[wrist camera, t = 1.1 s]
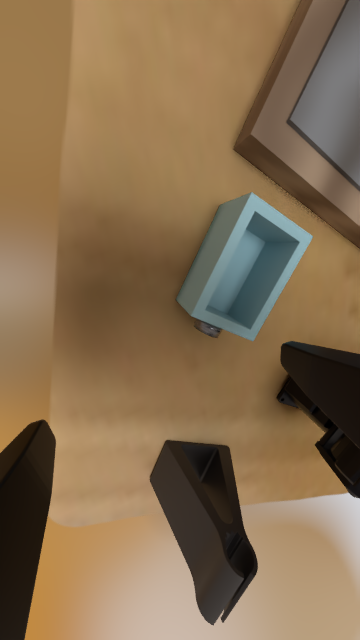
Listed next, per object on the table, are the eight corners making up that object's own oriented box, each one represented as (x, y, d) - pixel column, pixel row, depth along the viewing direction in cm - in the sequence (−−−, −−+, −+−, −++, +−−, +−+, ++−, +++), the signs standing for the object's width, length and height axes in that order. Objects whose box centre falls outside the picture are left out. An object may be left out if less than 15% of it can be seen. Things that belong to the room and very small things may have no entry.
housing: (271, 238, 21) (313, 236, 16) (221, 331, 23) (245, 353, 18) (220, 204, 19) (251, 192, 14) (170, 310, 21) (183, 330, 16)
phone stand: (149, 477, 27) (166, 636, 16) (165, 439, 26) (197, 585, 15) (210, 479, 30) (260, 614, 19) (228, 445, 29) (293, 570, 18)
